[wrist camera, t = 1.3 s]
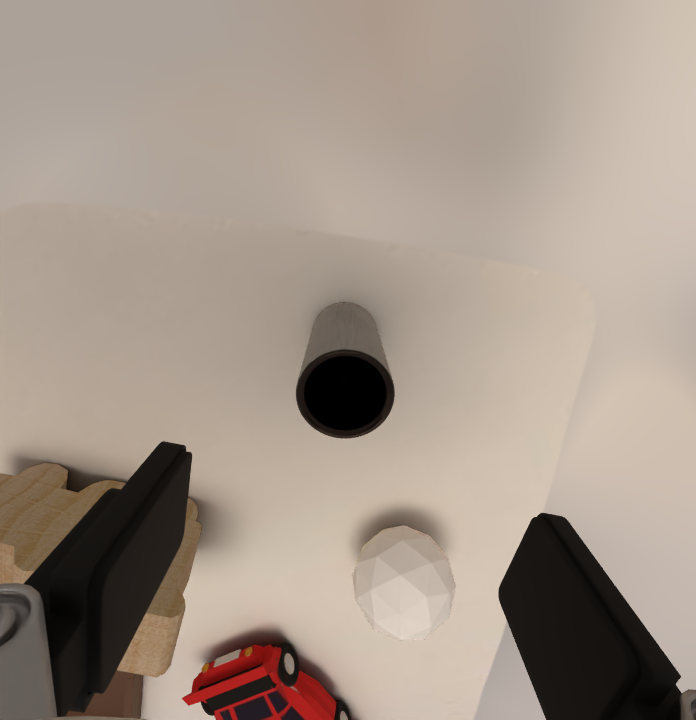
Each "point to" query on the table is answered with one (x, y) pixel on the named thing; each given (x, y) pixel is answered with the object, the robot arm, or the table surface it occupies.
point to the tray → (117, 698)
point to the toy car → (262, 688)
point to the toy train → (51, 525)
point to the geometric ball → (404, 583)
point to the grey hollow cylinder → (345, 374)
